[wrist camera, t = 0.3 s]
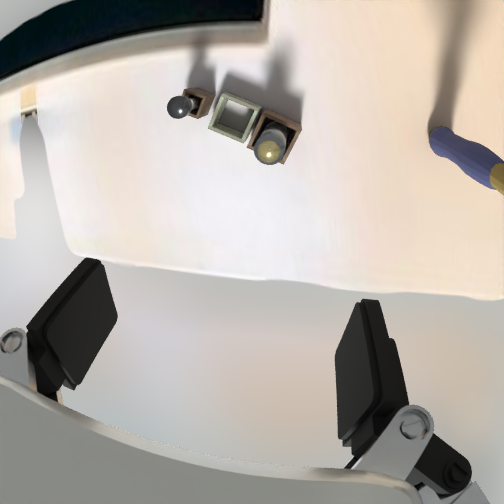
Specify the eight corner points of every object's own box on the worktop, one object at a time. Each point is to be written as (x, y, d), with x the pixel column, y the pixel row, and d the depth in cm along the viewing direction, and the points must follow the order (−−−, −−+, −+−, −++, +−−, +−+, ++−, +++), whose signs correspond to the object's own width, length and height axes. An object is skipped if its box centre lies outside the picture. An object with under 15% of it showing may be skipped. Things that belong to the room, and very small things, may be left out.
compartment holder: (198, 81, 31) (187, 82, 28) (301, 124, 33) (301, 129, 30) (185, 113, 34) (173, 117, 31) (284, 155, 36) (283, 164, 32)
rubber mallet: (414, 89, 28) (623, 165, 3) (461, 98, 26) (652, 188, 2) (409, 180, 34) (537, 367, 9) (454, 184, 33) (587, 345, 8)
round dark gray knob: (191, 90, 30) (171, 93, 25) (209, 96, 31) (192, 100, 26) (184, 108, 32) (164, 114, 27) (201, 114, 32) (184, 121, 27)
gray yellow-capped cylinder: (270, 117, 33) (260, 131, 24) (291, 127, 33) (289, 145, 25) (261, 137, 35) (248, 158, 26) (281, 146, 35) (276, 171, 26)
